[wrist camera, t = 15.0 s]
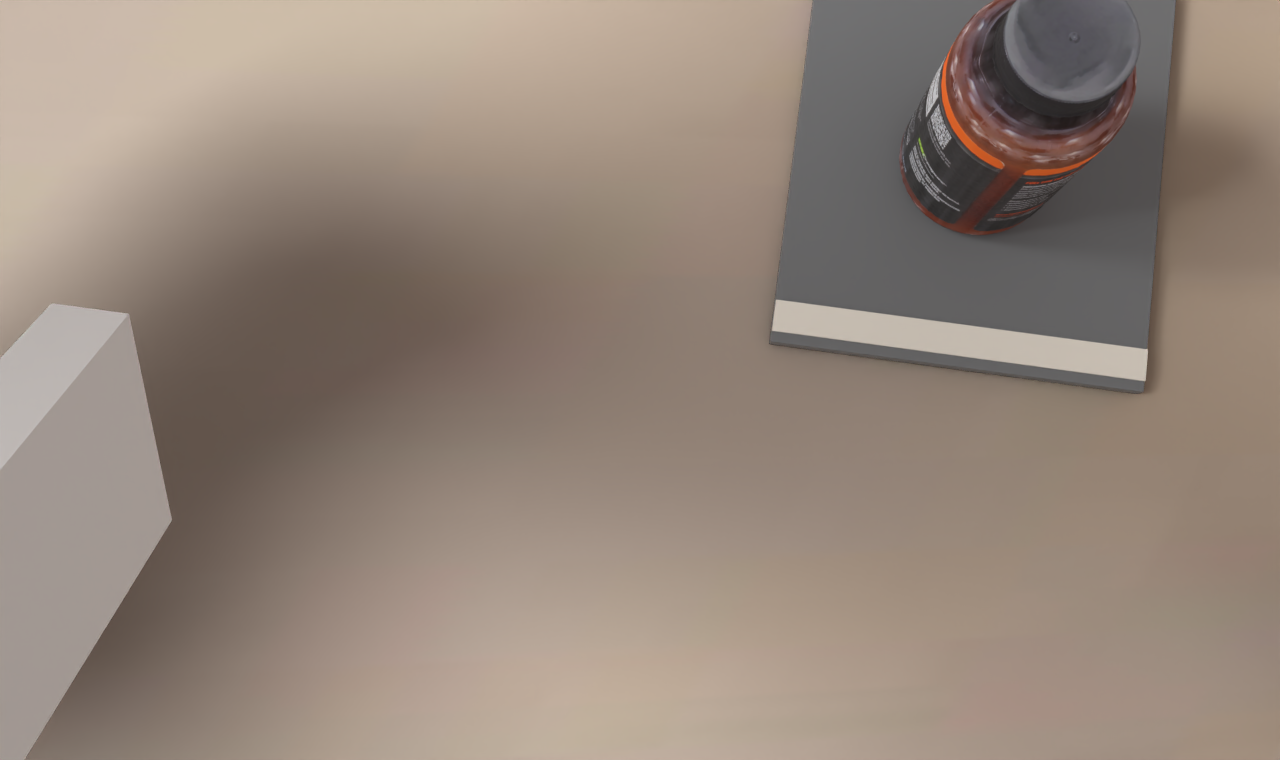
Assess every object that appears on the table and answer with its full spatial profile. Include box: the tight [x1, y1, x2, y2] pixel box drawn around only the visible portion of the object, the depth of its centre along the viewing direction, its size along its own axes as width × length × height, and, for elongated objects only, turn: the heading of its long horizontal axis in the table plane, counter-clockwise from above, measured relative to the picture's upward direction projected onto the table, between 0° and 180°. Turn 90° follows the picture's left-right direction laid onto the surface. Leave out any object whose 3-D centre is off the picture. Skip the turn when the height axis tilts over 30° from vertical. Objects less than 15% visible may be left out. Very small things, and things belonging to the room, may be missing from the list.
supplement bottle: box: [899, 0, 1141, 235], centre depth 40 cm, size 6×6×11 cm
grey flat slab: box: [769, 0, 1176, 394], centre depth 46 cm, size 14×16×1 cm
